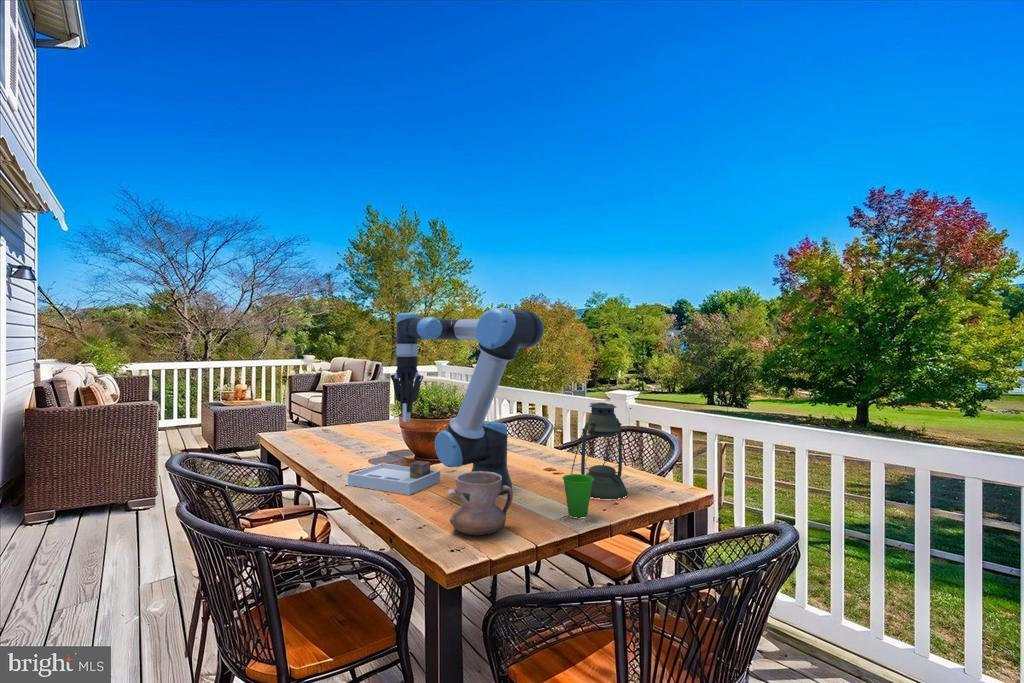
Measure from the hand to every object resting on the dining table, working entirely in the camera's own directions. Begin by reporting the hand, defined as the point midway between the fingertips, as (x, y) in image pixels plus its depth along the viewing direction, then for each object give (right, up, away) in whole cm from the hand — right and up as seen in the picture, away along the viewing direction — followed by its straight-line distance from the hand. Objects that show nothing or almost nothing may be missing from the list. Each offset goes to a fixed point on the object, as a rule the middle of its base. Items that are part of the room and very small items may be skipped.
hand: (406, 421), depth 180 cm
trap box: (-3, -21, -4) cm, 22 cm away
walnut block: (+6, -19, -5) cm, 20 cm away
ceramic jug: (+30, -22, -47) cm, 60 cm away
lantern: (+68, -22, -12) cm, 73 cm away
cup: (+57, -22, -36) cm, 71 cm away
